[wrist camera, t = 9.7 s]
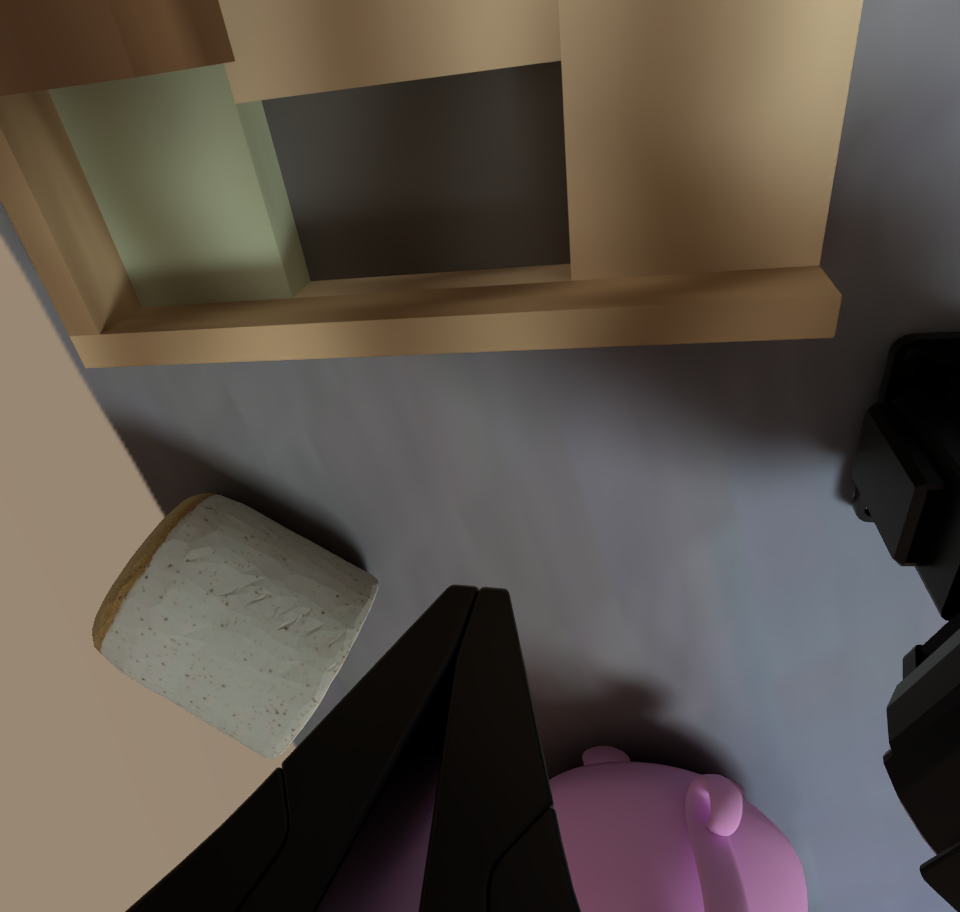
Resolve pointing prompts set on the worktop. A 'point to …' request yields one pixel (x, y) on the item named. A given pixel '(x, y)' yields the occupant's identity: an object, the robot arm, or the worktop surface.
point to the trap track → (444, 181)
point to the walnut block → (105, 40)
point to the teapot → (670, 841)
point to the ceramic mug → (234, 619)
